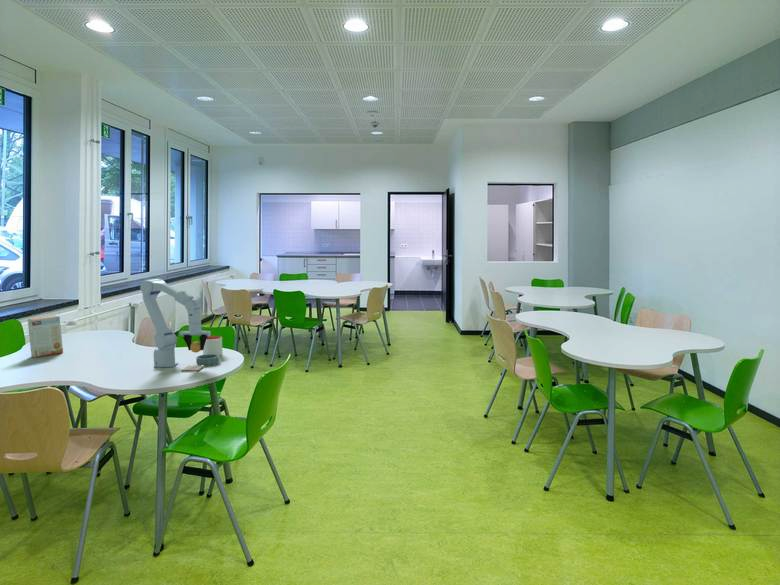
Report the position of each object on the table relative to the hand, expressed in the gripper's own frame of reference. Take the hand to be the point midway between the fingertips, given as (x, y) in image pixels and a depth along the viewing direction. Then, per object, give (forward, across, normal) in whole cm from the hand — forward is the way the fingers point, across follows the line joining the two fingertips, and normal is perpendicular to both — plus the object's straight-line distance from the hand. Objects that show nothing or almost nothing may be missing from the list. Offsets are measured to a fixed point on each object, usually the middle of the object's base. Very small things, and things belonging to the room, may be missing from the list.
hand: (196, 349), depth 262 cm
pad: (+9, -1, -3) cm, 10 cm away
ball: (-2, 0, 0) cm, 2 cm away
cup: (+9, -1, +25) cm, 26 cm away
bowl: (+9, +2, +9) cm, 13 cm away
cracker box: (+9, -94, +26) cm, 98 cm away
